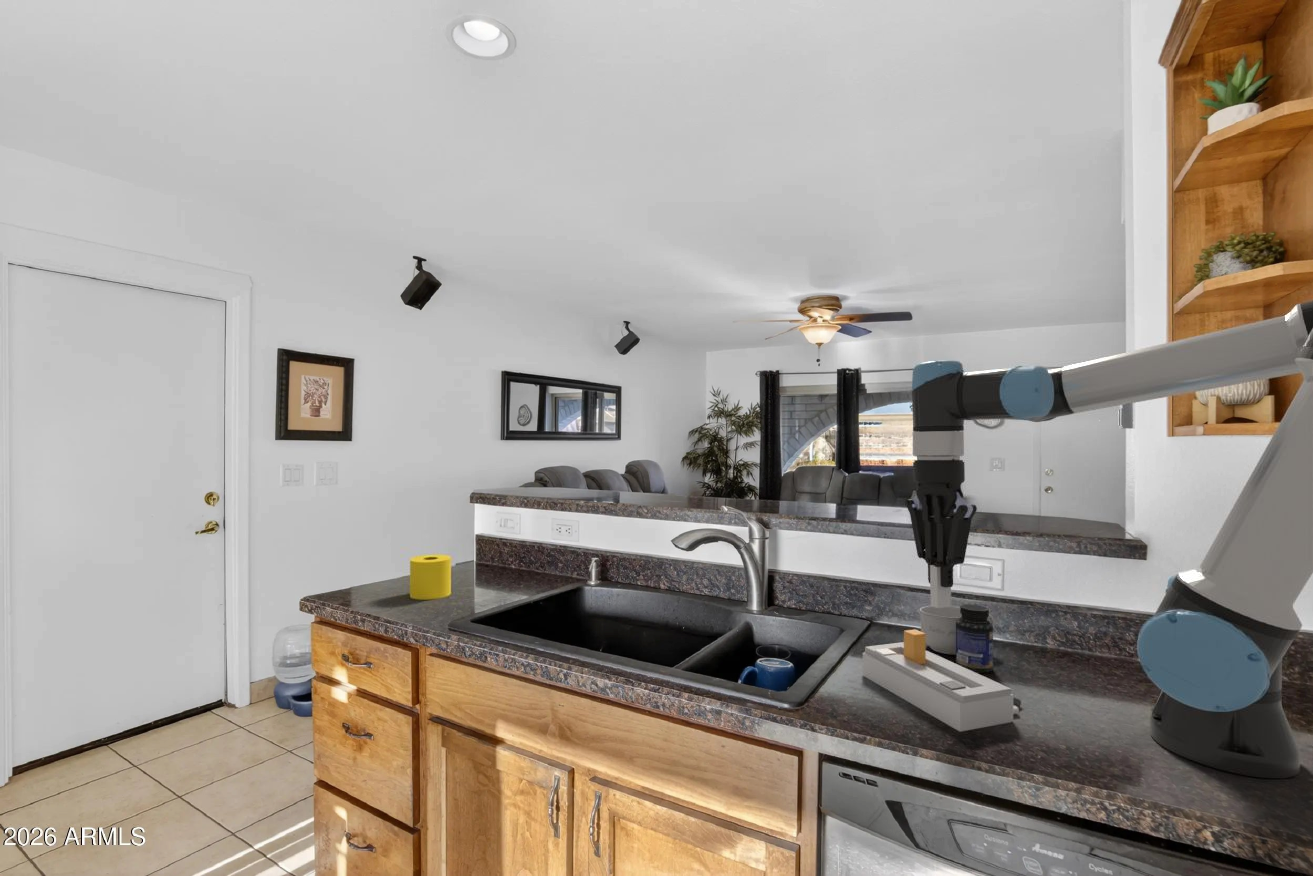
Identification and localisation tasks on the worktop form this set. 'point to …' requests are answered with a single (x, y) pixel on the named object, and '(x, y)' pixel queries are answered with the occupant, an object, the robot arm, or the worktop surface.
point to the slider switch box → (940, 687)
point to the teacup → (942, 627)
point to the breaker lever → (915, 646)
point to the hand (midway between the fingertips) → (940, 606)
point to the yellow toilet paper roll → (430, 577)
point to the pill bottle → (974, 639)
